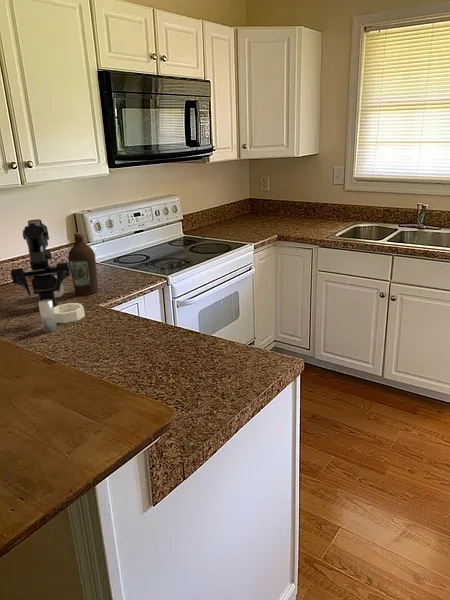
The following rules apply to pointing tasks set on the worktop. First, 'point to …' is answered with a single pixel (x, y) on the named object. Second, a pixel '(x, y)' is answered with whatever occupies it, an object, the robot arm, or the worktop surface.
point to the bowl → (68, 312)
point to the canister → (47, 315)
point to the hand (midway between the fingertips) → (44, 293)
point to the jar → (61, 292)
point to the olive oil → (83, 267)
